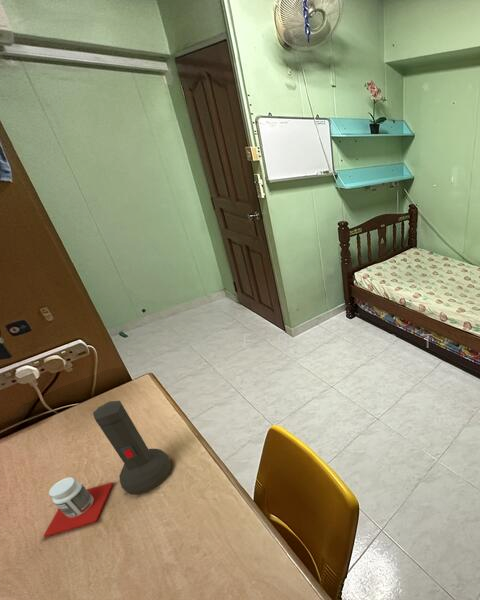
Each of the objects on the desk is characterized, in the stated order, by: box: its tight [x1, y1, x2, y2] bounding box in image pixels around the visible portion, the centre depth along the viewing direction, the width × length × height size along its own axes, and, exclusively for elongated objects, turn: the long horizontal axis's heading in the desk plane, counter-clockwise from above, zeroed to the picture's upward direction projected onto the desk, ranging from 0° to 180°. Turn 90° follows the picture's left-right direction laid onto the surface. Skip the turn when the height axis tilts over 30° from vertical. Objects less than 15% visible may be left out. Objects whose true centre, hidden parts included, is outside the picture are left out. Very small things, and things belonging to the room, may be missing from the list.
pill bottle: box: [48, 477, 94, 518], centre depth 69 cm, size 5×5×8 cm
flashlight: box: [92, 400, 172, 495], centre depth 72 cm, size 10×25×10 cm
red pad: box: [43, 482, 114, 538], centre depth 71 cm, size 9×9×1 cm
